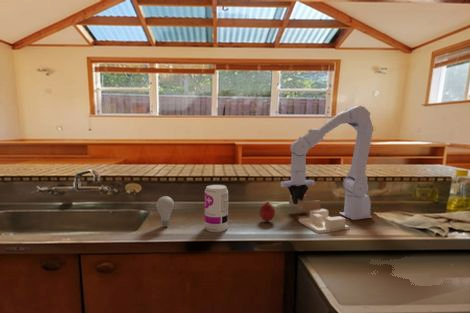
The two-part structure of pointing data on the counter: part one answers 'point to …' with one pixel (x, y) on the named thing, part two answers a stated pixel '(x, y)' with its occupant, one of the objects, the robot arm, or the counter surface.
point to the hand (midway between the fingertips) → (297, 203)
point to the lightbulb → (165, 209)
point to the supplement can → (216, 208)
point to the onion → (267, 211)
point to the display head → (324, 221)
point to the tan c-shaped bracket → (305, 204)
